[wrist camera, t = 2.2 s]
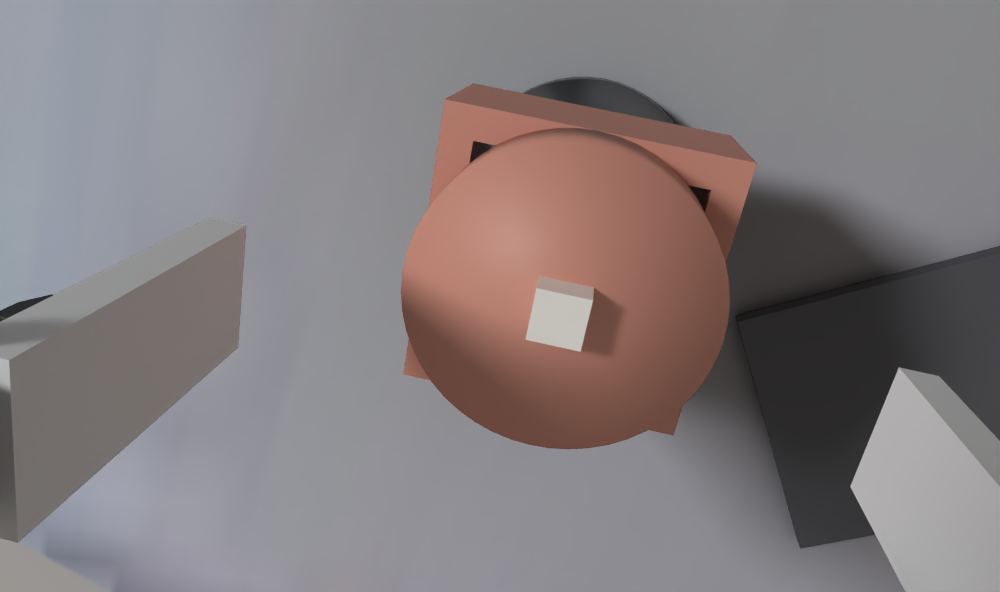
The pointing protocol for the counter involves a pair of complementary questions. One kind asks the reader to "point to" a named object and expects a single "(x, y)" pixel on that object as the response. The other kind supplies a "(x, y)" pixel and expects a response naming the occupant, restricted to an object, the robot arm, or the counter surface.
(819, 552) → the counter surface
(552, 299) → the cap
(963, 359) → the dark grey square plate
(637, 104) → the post
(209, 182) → the counter surface
